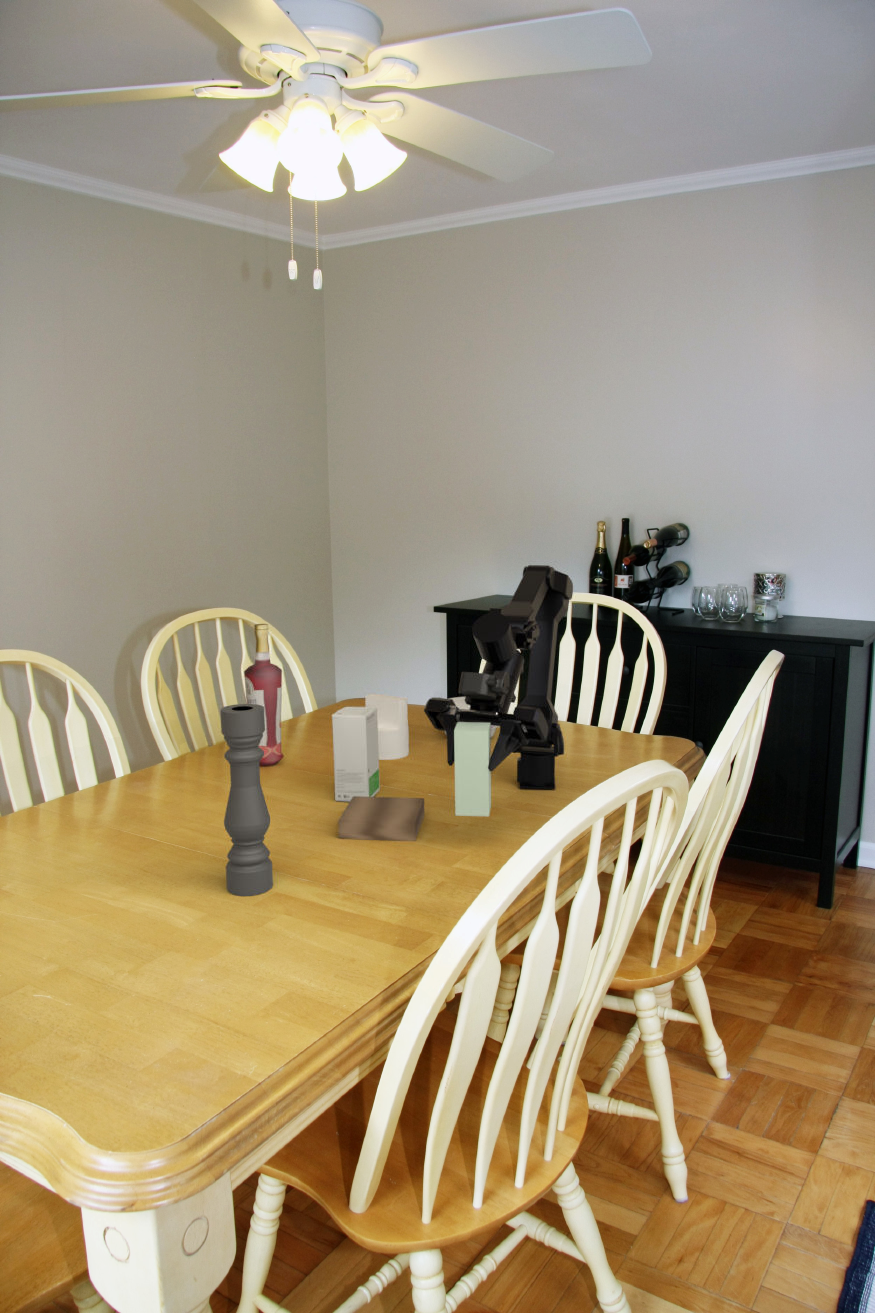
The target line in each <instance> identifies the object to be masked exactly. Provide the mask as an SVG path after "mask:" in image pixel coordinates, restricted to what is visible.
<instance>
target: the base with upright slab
mask: <svg viewBox="0 0 875 1313" xmlns="http://www.w3.org/2000/svg"><path fill="white" fill-rule="evenodd" d="M364 698H365V701H364V702H365V704H364V705H365V707H377V721H378V751H379V761H382V760H383V761H387V760H389V761H391V760H392V761H393V760H398V759H402V758H406V757H407V756H409V754H410V752H409V751H410V750H409V749H410V743H409V742H410V740H409V738H410V737H409V734H410V733H409V731H410V730H409V729H410V728H409V722H408V717H409V716H408V697H402V696H393V695H387V694H378V693H371V694H368V695H365V696H364Z"/></svg>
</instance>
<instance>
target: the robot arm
mask: <svg viewBox="0 0 875 1313" xmlns="http://www.w3.org/2000/svg"><path fill="white" fill-rule="evenodd" d="M573 584H574V583H573V581H572V579H571V578H570V576H569V575H568V574H565V573H564V572H561V571H558V570H556V569H555V568H554V567H553V566H550V565H540V564H539V565H538V564H536V565H535V564H534V565H533V564H528V566H527V565H526V566H524V568H523V570H522V578H521V580H520V582H519V584H518V585H517V588H516V590H515V591H514V593H513V596H512V598H511V599H510V601H509V603H508V604H506V605H503V606H500V607H499V608H498V607H490V608H489V610H488V611H489V612H488V613H486V614H483V615H481V616H480V617H478V618H477V619H476V620H475V622H473V624H472V627H471V628H472V629H471V631H472V635H473V638H474V640H475V643H476V646H477V649H478V651H479V654H480V657H481V658H482V660H484V661H485V664H484V667H483V670H482V672H472V671H471V672H470V671H462V672H461V676H460V681H459V686H458V694H460V695H463V696H464V697H465V702H466V704H467V705H470V709H469V710H468V709H459V708H458V707H456V705H455V703H454V701H453V700H452V699H449V698H444V697H443V698H442V697H431V698H429V699H428V700H427V701H426V703H425V706H424V709H423V712H424V714H425V716H426V717H427V719H428V720H429V722H430V723H431V725H432V726H433V727H434V729H435V730H438V731H443V732H444V731H446V734H447V736H446V750H447V751H446V753H447V754H446V756H447V757H446V762H447V765H448V766H450V767H452V766H453V765H454V764H455V753H454V730H455V727H456V725H457V722H483V723H491V725H493V726H500V727H499V735H498V736H497V737H498V738H497V739H496V743H495V745H494V747H493V750H492V751H491V752H492V753H491V758H490V761H489V766H488V769H489V771H491V772H493V771H495V769H496V768H497V767H499V766H500V764H501V763H503V761H505V760H506V759H507V757H509V756H510V755H511V754H512V753H513V754H516V753H517V754H520V755H519V756H520V757H519V756H518V757H517V758H516V759H517V761H516V783H517V784H519V786H518V787H519V789H524V790H525V789H526V790H528V789H531V790H532V789H533V790H556V773H555V771H556V757H559V756H563V755H565V742H564V736H563V732H562V730H561V726H560V723H559V716H558V713H557V711H556V709H555V707H554V705H553V703H552V691H553V681H554V680H553V679H554V669H555V658H556V649H557V648H556V647H557V640H558V639H557V638H558V629H559V628H558V627H559V623H560V621H561V620H562V619H563V618H564V616H565V615H566V614H567V613H568V611H569V605H570V601H571V600H572V598H573V595H574V594H573V593H574V585H573ZM520 650H524V651H525V650H526V651H528V650H530V651H529V652H530V654H529V663H528V674H527V683H526V694H525V698H524V699H523V700H521V702H520V703H518V704H517V705H516V706H515V707H514V710H513V713H509V709H510V707H511V703H512V704H514V703H515V702H516V699H517V697H516V696H517V695H516V694H515V691H516V688H517V685H518V682H519V680H520V676H521V675H522V674H523V673H524V663H525V659H524V656H523V654H522V653H521V651H520ZM446 734H445V735H446Z"/></svg>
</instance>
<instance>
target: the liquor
mask: <svg viewBox="0 0 875 1313" xmlns="http://www.w3.org/2000/svg"><path fill="white" fill-rule="evenodd" d="M253 627H254V628H253V629H254V637H255V656H254V658H255V659H254V664H252V665H250V666H248V667H247V668H246V669H245V670H244V671H243V674H244V676H243V677H244V685H245V686H244V687H245V700H246V704H257V705H262V706H263V707H264V718H265V731H264V732H263V737H262V739H261V741H260V744H259V748H261V749H262V750H263V751H264V756H263V758H262V759H261V761H260V762H259V767H271V766H275V765H277V764H278V763H279V762H280V761H282V759H283V758H284V754H283V752H282V697H283V695H282V694H283V693H282V690H283V688H282V685H283V680H282V675H283V671H282V668H280V666H278V665H276V664H274V663H271V656H270V650H269V641H268V638H269V624H268V623H256V624H253Z"/></svg>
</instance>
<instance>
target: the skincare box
mask: <svg viewBox="0 0 875 1313" xmlns="http://www.w3.org/2000/svg"><path fill="white" fill-rule="evenodd" d="M331 721H332V722H331V723H332V747H333V750H332V751H333V772H334V774H333V775H334V778H333V780H334V801H336V802H344V803H346V802H347V803H349V802H350V801H351V799H352V797H353V796H362V797H376V795H377V793H378V792H380V790H381V786H380V785H381V784H380V783H381V782H380V781H381V780H380V760H379V751H378V721H377V707H366V706H344V707H343V708H341V709H338V710H336V712H334V713H333V714H331Z"/></svg>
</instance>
